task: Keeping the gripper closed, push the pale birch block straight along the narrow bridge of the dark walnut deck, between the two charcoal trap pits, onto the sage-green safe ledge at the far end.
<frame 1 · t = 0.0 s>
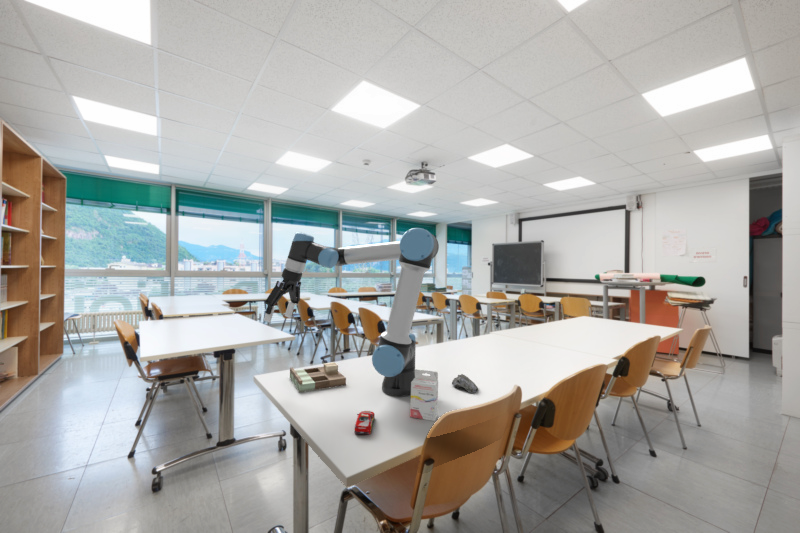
hand: (277, 319, 134), 28 cm above the table, tool tilted 20°, fingers open, 13 cm apart
trap deck: (316, 381, 142), on the table
birch block: (330, 372, 145), point 3 cm above the table, touching trap deck
race car: (364, 427, 102), on the table
fossilized seashell: (464, 388, 137), on the table
ink cartridge box: (423, 417, 109), on the table
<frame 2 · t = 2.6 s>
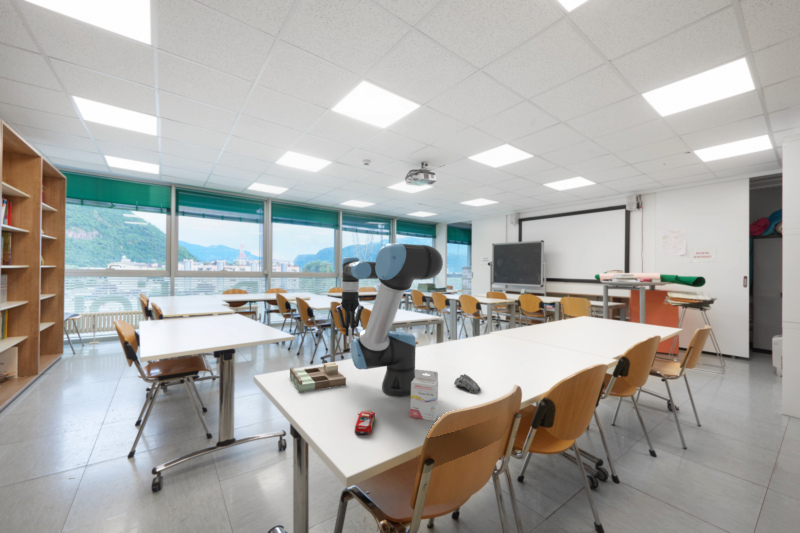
hand: (349, 342, 149), 15 cm above the table, tool pointing down, fingers closed
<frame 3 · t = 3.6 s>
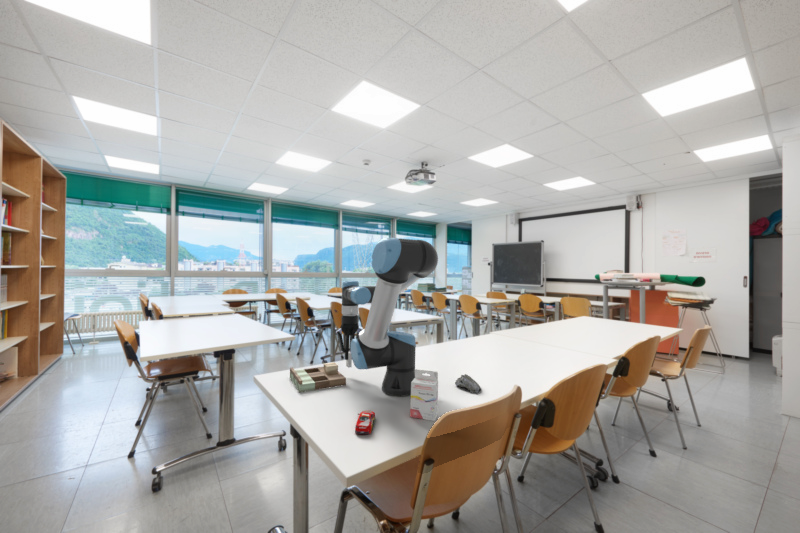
hand: (348, 366, 149), 4 cm above the table, tool pointing down, fingers closed
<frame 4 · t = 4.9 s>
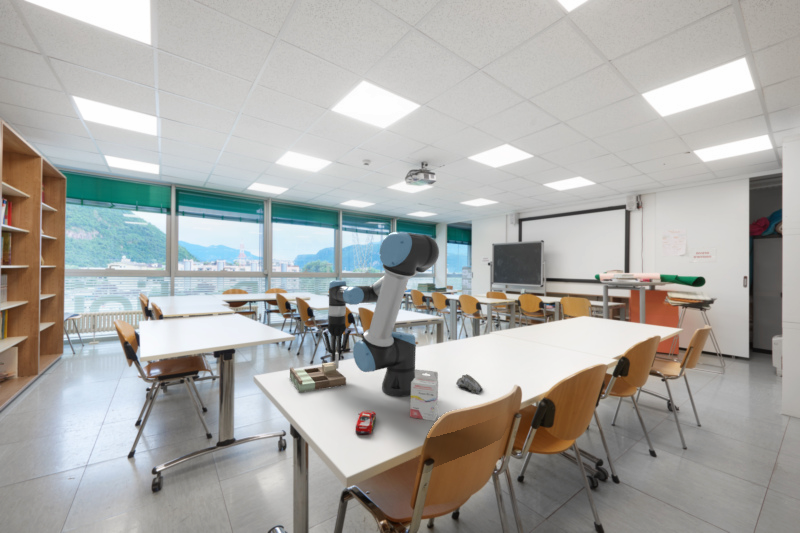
hand: (335, 367, 146), 5 cm above the table, tool pointing down, fingers closed
birch block: (329, 372, 145), point 3 cm above the table, touching gripper
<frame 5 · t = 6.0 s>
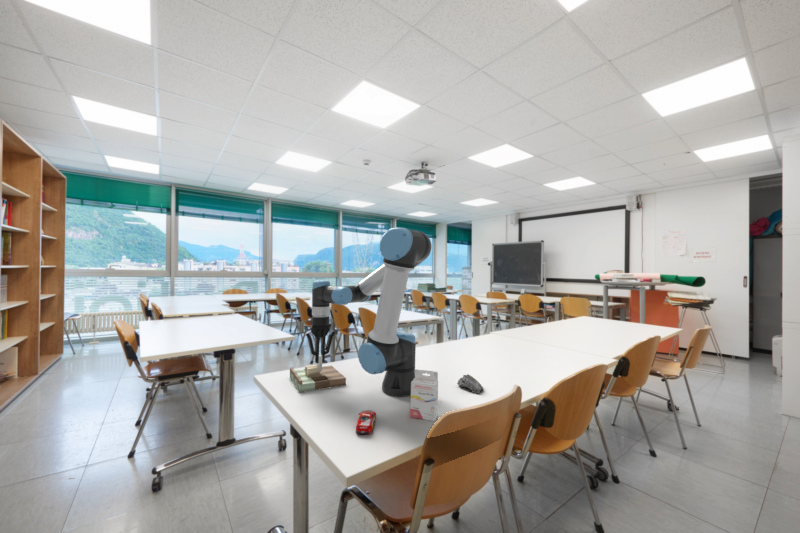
hand: (319, 370, 143), 5 cm above the table, tool pointing down, fingers closed
birch block: (312, 374, 141), point 3 cm above the table, touching gripper, trap deck
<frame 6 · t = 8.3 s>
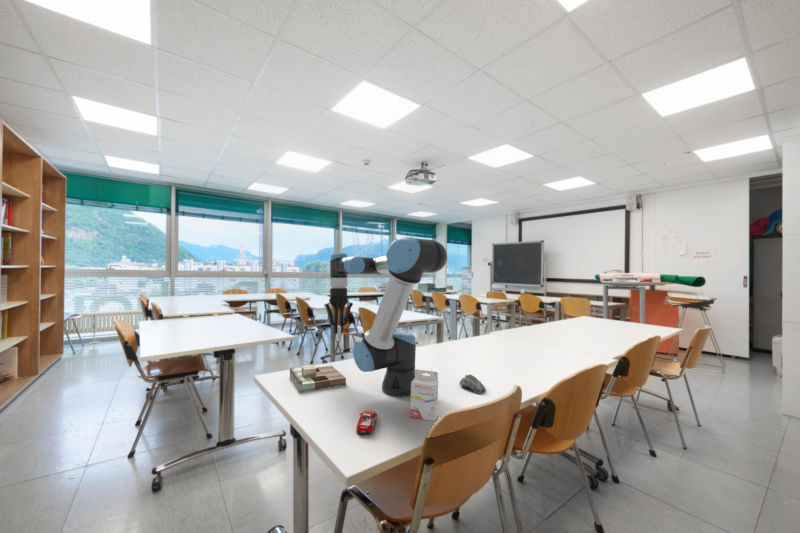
hand: (338, 340, 146), 17 cm above the table, tool pointing down, fingers closed
birch block: (308, 375, 140), point 3 cm above the table, touching trap deck
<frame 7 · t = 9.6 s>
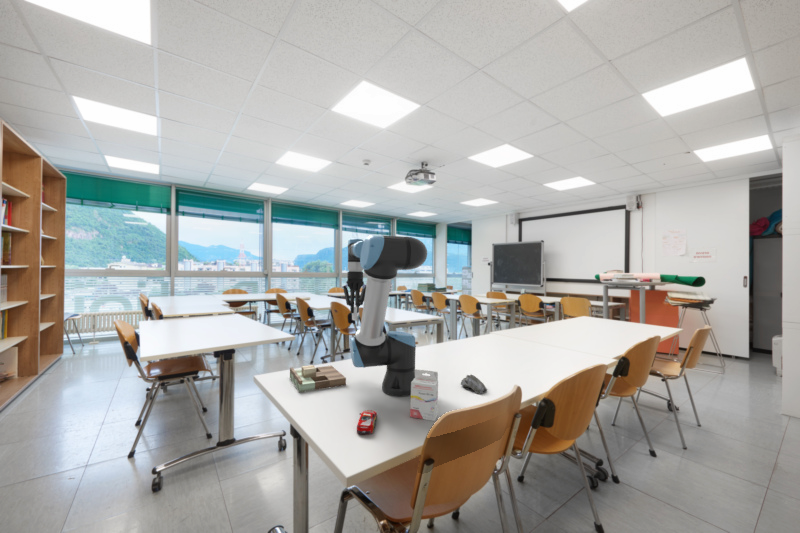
hand: (354, 319, 158), 24 cm above the table, tool pointing down, fingers closed
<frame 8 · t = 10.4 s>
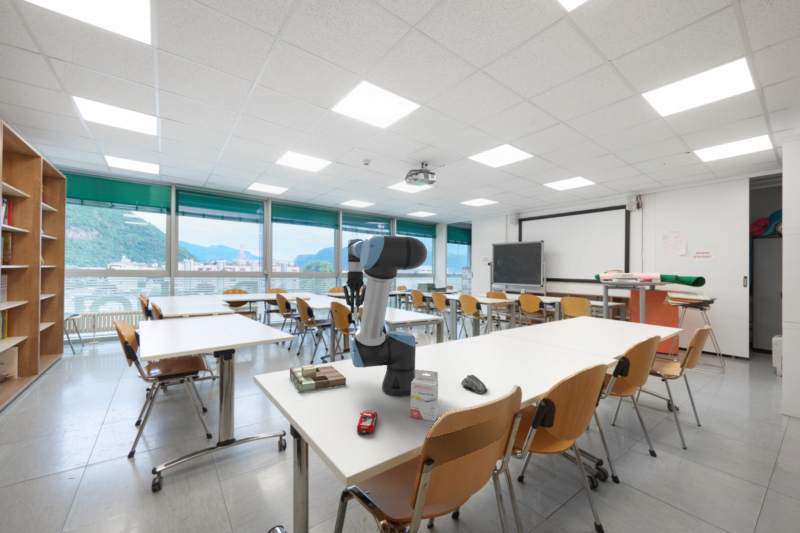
hand: (354, 319, 158), 24 cm above the table, tool pointing down, fingers closed
at the end: birch block 2.4 cm from the target spot, point 3.0 cm above the table; birch block tilted 0° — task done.
